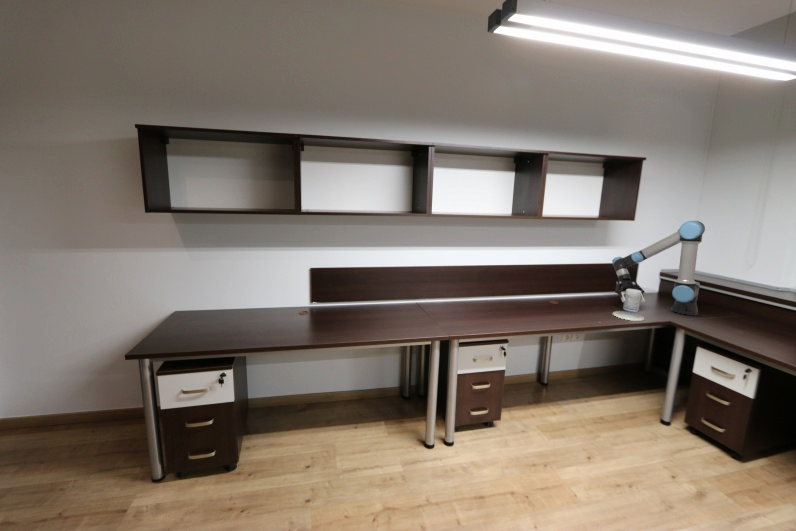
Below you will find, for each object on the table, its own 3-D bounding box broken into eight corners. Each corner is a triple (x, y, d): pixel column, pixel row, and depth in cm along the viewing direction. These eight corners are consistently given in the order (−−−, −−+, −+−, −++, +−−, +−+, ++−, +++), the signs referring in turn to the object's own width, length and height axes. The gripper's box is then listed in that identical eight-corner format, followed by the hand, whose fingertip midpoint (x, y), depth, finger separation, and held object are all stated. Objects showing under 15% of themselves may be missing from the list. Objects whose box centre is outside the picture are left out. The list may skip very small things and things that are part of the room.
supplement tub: (625, 307, 270) (628, 287, 267) (640, 310, 263) (643, 290, 260) (620, 309, 264) (623, 289, 261) (635, 313, 257) (638, 292, 254)
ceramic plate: (625, 312, 259) (625, 310, 258) (650, 320, 242) (650, 318, 242) (606, 314, 252) (606, 312, 252) (631, 322, 236) (631, 320, 235)
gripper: (637, 279, 276) (647, 304, 264) (604, 278, 275) (613, 303, 263) (643, 273, 269) (654, 299, 257) (609, 272, 269) (619, 298, 257)
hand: (633, 301), depth 260 cm, fingers open, 13 cm apart
